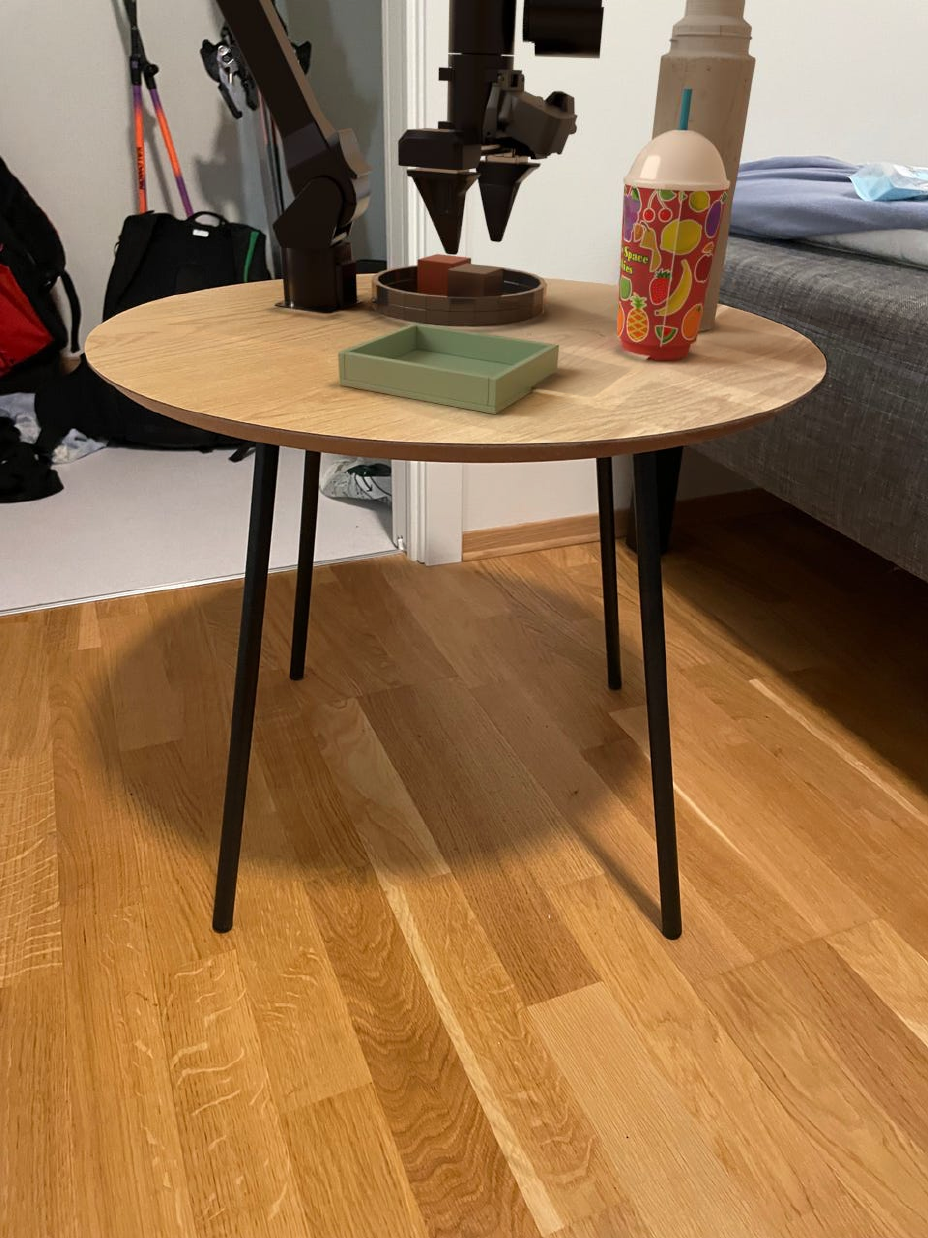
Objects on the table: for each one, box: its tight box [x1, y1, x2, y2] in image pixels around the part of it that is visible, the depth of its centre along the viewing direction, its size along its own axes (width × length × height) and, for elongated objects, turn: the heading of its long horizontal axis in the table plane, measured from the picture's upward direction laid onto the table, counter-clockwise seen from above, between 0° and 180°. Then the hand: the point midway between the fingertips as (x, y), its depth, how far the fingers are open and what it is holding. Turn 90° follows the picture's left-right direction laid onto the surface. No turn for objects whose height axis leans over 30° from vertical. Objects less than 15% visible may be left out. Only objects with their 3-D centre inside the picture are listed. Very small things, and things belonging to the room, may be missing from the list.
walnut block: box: [447, 263, 503, 297], centre depth 90 cm, size 4×4×4 cm
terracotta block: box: [417, 253, 472, 296], centre depth 94 cm, size 4×4×4 cm
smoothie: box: [616, 89, 730, 362], centre depth 76 cm, size 8×8×20 cm
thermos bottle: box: [651, 0, 757, 333], centre depth 84 cm, size 8×8×28 cm
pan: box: [371, 264, 548, 327], centre depth 93 cm, size 17×17×3 cm
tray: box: [337, 322, 560, 415], centre depth 72 cm, size 13×11×2 cm
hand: (474, 247), depth 88 cm, fingers open, 9 cm apart
